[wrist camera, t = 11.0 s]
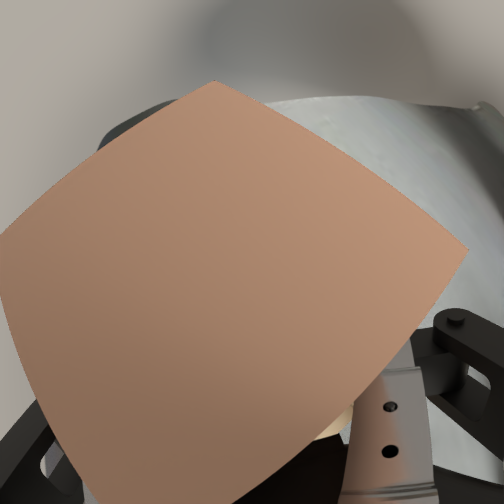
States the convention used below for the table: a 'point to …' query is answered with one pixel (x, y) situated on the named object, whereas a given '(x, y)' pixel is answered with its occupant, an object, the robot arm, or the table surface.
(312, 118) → the table surface
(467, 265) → the table surface
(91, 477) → the clay bar
